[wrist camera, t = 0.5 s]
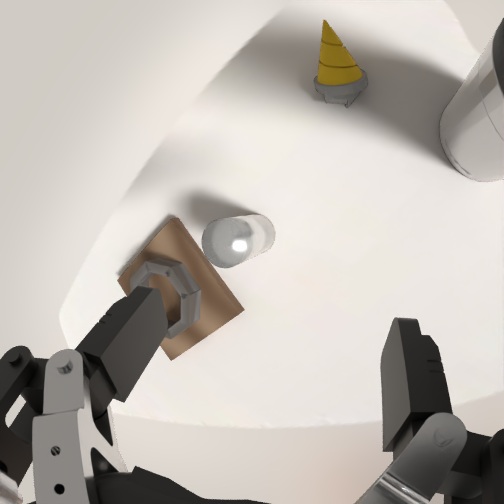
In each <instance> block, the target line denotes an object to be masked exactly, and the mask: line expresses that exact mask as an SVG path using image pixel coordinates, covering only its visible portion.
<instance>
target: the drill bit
mask: <svg viewBox="0 0 504 504" xmlns="http://www.w3.org/2000/svg"><path fill="white" fill-rule="evenodd" d="M342 45H343V43H342V42H341V41H340V39H339V38H338V36H337V35H336V34H335V32H334V31H333V30H332V28H331V27H330V26H329V24H328V23H327V22H326V20H323V30H322V40H321V50H320V60H319V69H318V75H317V76H316V77H315V78H314V83H315V87H316V90H317V92H319V93H321V94H324V97H325V101H326V103H337V104H345V105H346V107H347V108H348V107H349V106H350V104H351V103H352V102H353V101H354V99H355V98H356V97H357V95H358V94H359V93H360V92H361V90H362V89H364V88H365V87H366V86H367V85H368V80H367V75H366V73H365V72H364V71H363V70H361V69H359V67H358V66H357V65H356V63H355V61H354V60H353V58H352V57H351V55H350V54H349V52H348V51H347V49H346V48H345V47H343V46H342Z"/></svg>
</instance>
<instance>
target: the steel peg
mask: <svg viewBox="0 0 504 504" xmlns="http://www.w3.org/2000/svg"><path fill="white" fill-rule="evenodd" d="M274 241H275V229H274V226H273V224H272V222H271V221H270V220H269V219H268V218H267V217H265V216H263V215H259V214H253V215H245V216H237V217H230V218H222V219H217V220H214V221H212V222H211V223H210V224H209V225H208V226H207V227H206V228H205V230H204V232H203V235H202V248H203V251H204V254H205V256H206V257H207V259H208V260H209V261H210V262H211V263H212V264H214V265H215V266H217V267H220V268H230V267H233V266H235V265H238V264H240V263H242V262H244V261H246V260H249V259H251V258H253V257H255V256H257V255H259V254H262V253H264V252H266V251H267V250H269V249H270V248H271V247H272V245H273V243H274Z"/></svg>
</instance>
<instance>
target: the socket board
mask: <svg viewBox="0 0 504 504" xmlns="http://www.w3.org/2000/svg"><path fill="white" fill-rule="evenodd" d="M117 281H118V282H119V284H120V286H121V287H122V289H123V291H124V292H125V294H126V295H127V297H128V296H129V295H130V293H131V292H132V291H133V290H134V289H135V288H136V287H137V286H139V285H142V286H147V287H153V288H158V289H159V290H160V292H161V295H162V300H163V304H164V308H165V312H166V316H167V321H168V328H167V333H166V335H165V337H164V339H163V341H162V342H161V344H160V346H161V348H162V349H163V350H164V352H165V353H166V355H167V356H168V357H169V359H170V360H171V361H172V360H173V359H175V358H176V357H178V356H179V355H181V354H182V353H184V352H185V351H187V350H188V349H189V348H191V347H192V346H194V345H195V344H197V343H198V342H200V341H201V340H203V339H204V338H206V337H207V336H208V335H210V334H211V333H213V332H214V331H216V330H217V329H219V328H220V327H221V326H223V325H224V324H226V323H227V322H229V321H230V320H231V319H233V318H234V317H236V316H237V315H239V314H240V313H241V312H242V311H244V308H243V307H242V306H241V304H240V303H239V302H238V300H237V299H236V298H235V296H234V295H233V294H232V292H231V291H230V290H229V288H228V287H227V285H226V284H225V283H224V281H223V280H222V279H221V277H220V276H219V274H218V273H217V272H216V270H215V269H214V268H213V266H212V265H211V263H210V262H209V261H208V259H207V258H206V256H205V255H204V254H203V252H202V251H201V249H200V248H199V247H198V245H197V244H196V242H195V241H194V239H193V238H192V237H191V235H190V234H189V232H188V231H187V230H186V228H185V227H184V225H183V224H182V222H181V221H180V219H179V218H174V219H171V220H170V221H169V222H168V223H167V224H166V225H165V226H164V227H163V228H162V230H161V231H160V232H159V233H158V234H157V235H156V236H155V237H154V238H153V240H152V241H151V242H150V243H149V244H148V245H147V246H146V247H145V249H144V250H143V251H142V252H141V253H140V254H139V255H138V257H137V258H136V259H135V260H134V261H133V262H132V264H131V265H130V266H129V267H128V268H127V269H126V271H125V272H124V273H123V274H122V275H121V276H120V278H119V279H118V280H117Z"/></svg>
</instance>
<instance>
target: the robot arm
mask: <svg viewBox="0 0 504 504" xmlns="http://www.w3.org/2000/svg"><path fill="white" fill-rule="evenodd" d="M439 128H440V139H441V144H442V147H443V149H444V152H445V154H446V156H447V157H448V159H449V161H450V162H451V163H452V165H453V166H454V167H455V168H456V169H457V170H458V171H459V172H461V173H462V174H463V175H464V176H466V177H468V178H470V179H472V180H476V181H480V182H490V181H496V180H504V18H503V20H502V22H501V24H500V25H499V27H498V29H497V30H496V32H495V33H494V35H493V37H492V38H491V40H490V42H489V43H488V45H487V46H486V48H485V50H484V52H483V53H482V55H481V56H480V58H479V59H478V61H477V63H476V64H475V66H474V67H473V69H472V70H471V72H470V73H469V75H468V76H467V78H466V79H465V81H464V82H463V84H462V85H461V87H460V88H459V90H458V91H457V92H456V94H455V95H454V97H453V98H452V100H451V101H450V102H449V104H448V105H447V107H446V108H445V110H444V112H443V114H442V117H441V120H440V126H439ZM167 328H168V321H167V316H166V312H165V308H164V304H163V300H162V295H161V292H160V290H159V289H158V288H153V287H147V286H142V285H139V286H137V287H136V288H135V289H134V290H133V291H132V292H131V293H130V295H129V296H128V297H126V296H125V297H124V298H122V299H120V300H119V301H117V302H116V303H114V304H113V305H112V306H111V307H110V308H109V310H108V311H107V312H106V314H105V315H103V317H102V318H101V319H100V320H99V323H98V322H97V324H96V325H95V326H94V327H93V328H92V329H91V331H90V332H89V333H88V334H87V335H86V337H85V338H84V339H83V340H82V341H81V343H80V344H79V345H78V346H77V347H76V349H75V350H72V349H66V350H61V351H59V352H57V353H55V354H54V355H53V356H52V357H51V358H50V359H42V358H34V357H33V355H32V353H31V352H30V350H29V349H28V348H27V347H25V346H16V347H13V348H12V349H10V350H9V351H7V352H6V353H5V354H4V356H3V357H2V358H1V359H0V504H22V502H23V497H22V495H21V494H20V493H18V487H19V485H20V483H21V481H22V479H23V477H24V475H25V474H26V472H27V470H28V468H29V466H30V464H31V463H32V461H33V473H34V487H35V496H36V501H34V502H31V503H29V504H269V503H263V502H257V501H252V500H217V499H204V498H201V497H199V496H197V495H196V494H194V493H192V492H190V491H189V490H186V489H185V488H184V487H182V486H180V485H179V484H177V483H175V482H174V481H172V480H171V479H169V478H166V477H163V476H160V475H158V474H155V473H152V472H150V471H147V470H145V469H142V468H140V467H137V466H135V467H134V469H133V471H132V473H131V472H128V470H127V468H126V465H125V463H124V461H123V459H122V457H121V455H120V452H119V449H118V444H117V439H116V434H115V428H114V422H113V416H112V410H111V406H110V402H111V401H112V399H116V400H119V401H121V402H125V401H126V399H127V397H128V396H129V394H130V392H131V391H132V389H133V387H134V386H135V384H136V383H137V381H138V379H139V378H140V376H141V374H142V373H143V371H144V370H145V368H146V366H147V365H148V363H149V361H150V360H151V358H152V357H153V355H154V353H155V352H156V350H157V349H158V347H159V345H160V344H161V342H162V341H163V339H164V337H165V335H166V333H167ZM443 371H444V369H443V365H442V362H441V356H440V353H439V349H438V346H437V345H436V343H435V342H434V341H433V339H432V338H431V337H430V335H421V331H420V327H419V323H418V320H417V319H411V318H394V320H393V322H392V325H391V328H390V331H389V334H388V337H387V340H386V343H385V346H384V348H383V352H382V356H381V385H382V411H383V452H393V462H392V463H391V464H390V465H389V466H388V468H387V469H386V470H385V471H384V472H383V473H382V475H381V476H380V477H379V478H378V479H377V480H376V481H375V482H374V483H373V485H372V486H371V487H370V488H369V489H368V490H367V491H366V492H365V493H364V494H363V495H362V496H361V497H360V498H359V499H358V500H357V501H356V502H355V503H354V504H428V503H429V502H430V500H431V498H432V497H433V496H434V494H435V493H440V494H444V504H504V429H502V430H499V431H498V432H497V433H496V434H495V435H494V436H493V437H489V436H484V435H481V434H476V433H472V432H469V431H467V430H466V428H465V426H464V424H463V422H462V421H461V420H460V419H459V418H458V417H456V416H455V415H453V412H452V407H451V402H450V397H449V392H448V387H447V382H446V378H445V373H443ZM20 394H21V396H22V397H23V398H24V399H25V401H26V403H25V404H24V406H23V408H22V409H21V410H20V412H19V414H18V415H17V417H16V418H15V420H14V421H13V423H12V424H11V426H10V427H9V428H8V427H7V425H6V422H5V417H6V414H7V412H8V411H9V409H10V408H11V406H12V405H13V404H14V402H15V401H16V399H17V398H18V396H19V395H20Z"/></svg>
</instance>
